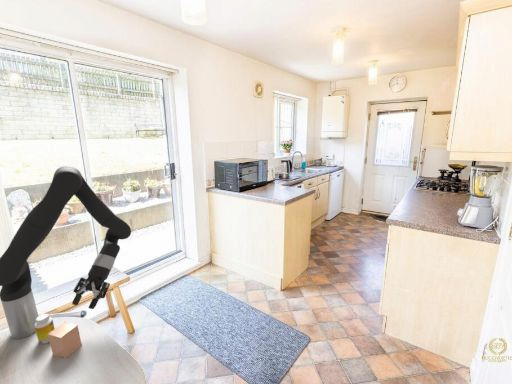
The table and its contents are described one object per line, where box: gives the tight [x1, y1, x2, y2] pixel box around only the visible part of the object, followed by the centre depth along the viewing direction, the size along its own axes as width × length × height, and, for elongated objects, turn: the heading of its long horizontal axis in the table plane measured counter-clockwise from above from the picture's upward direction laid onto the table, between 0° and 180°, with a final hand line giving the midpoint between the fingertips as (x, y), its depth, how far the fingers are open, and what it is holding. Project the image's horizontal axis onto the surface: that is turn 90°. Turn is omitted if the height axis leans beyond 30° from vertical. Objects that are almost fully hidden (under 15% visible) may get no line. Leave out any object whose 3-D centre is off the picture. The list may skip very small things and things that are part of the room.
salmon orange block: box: [48, 321, 83, 359], centre depth 96 cm, size 6×6×9 cm
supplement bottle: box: [34, 313, 56, 344], centre depth 101 cm, size 6×6×10 cm
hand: (82, 306), depth 102 cm, fingers open, 8 cm apart
